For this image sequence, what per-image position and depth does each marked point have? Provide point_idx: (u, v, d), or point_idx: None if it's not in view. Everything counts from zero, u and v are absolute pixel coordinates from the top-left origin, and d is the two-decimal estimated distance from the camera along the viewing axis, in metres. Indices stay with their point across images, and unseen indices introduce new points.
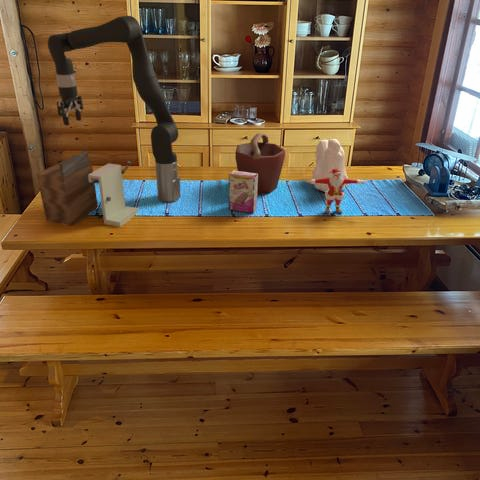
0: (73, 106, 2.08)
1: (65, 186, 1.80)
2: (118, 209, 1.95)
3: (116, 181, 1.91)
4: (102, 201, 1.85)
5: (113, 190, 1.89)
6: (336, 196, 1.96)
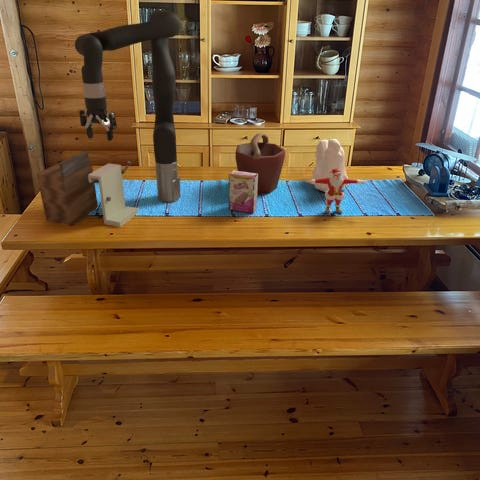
0: None
1: (65, 186, 1.80)
2: (118, 209, 1.95)
3: (116, 181, 1.91)
4: (102, 201, 1.85)
5: (113, 190, 1.89)
6: (336, 196, 1.96)
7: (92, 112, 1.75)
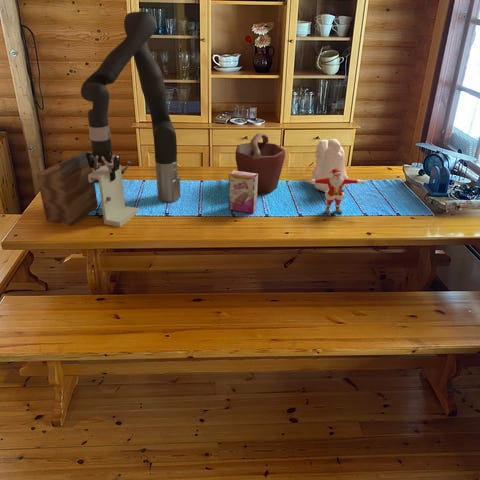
0: None
1: (65, 186, 1.80)
2: (118, 209, 1.95)
3: (116, 181, 1.91)
4: (102, 201, 1.85)
5: (113, 190, 1.89)
6: (336, 196, 1.96)
7: (98, 153, 1.82)
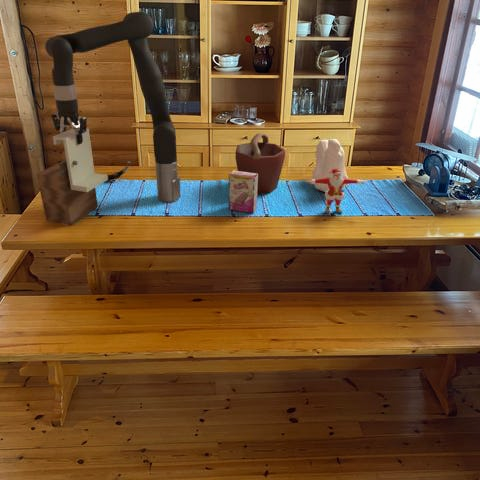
0: None
1: (65, 186, 1.80)
2: (86, 175, 1.88)
3: (84, 145, 1.83)
4: (68, 165, 1.77)
5: (80, 154, 1.82)
6: (336, 196, 1.96)
7: (63, 114, 1.75)
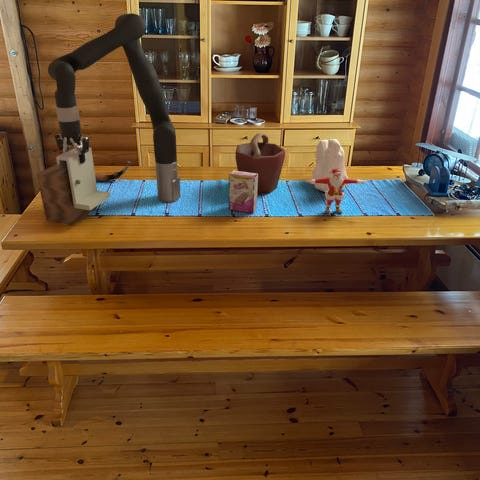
0: None
1: (65, 186, 1.80)
2: (89, 193, 1.92)
3: (87, 164, 1.87)
4: (71, 184, 1.81)
5: (83, 173, 1.86)
6: (336, 196, 1.96)
7: (66, 135, 1.79)
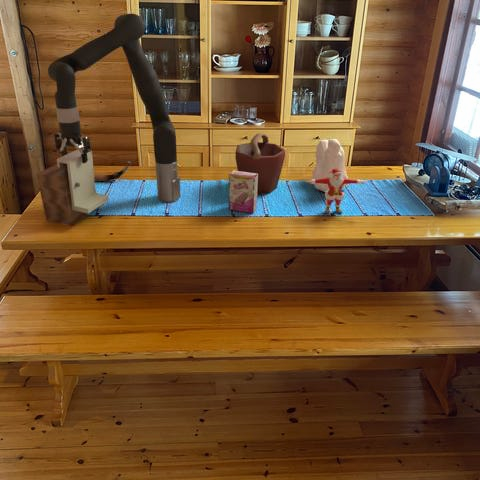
0: None
1: (65, 186, 1.80)
2: (88, 195, 1.92)
3: (87, 166, 1.87)
4: (70, 187, 1.82)
5: (83, 176, 1.86)
6: (336, 196, 1.96)
7: (66, 136, 1.79)
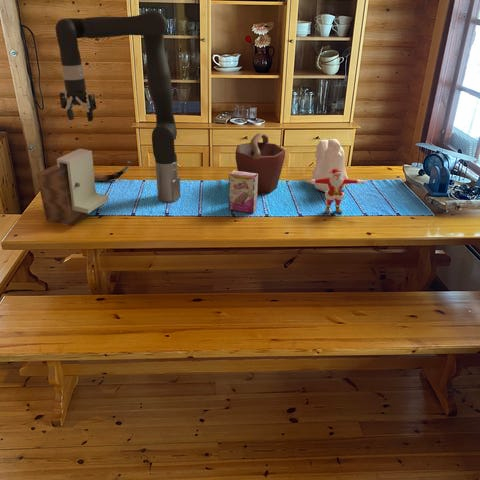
0: None
1: (65, 186, 1.80)
2: (88, 195, 1.92)
3: (87, 166, 1.87)
4: (70, 187, 1.82)
5: (83, 176, 1.86)
6: (336, 196, 1.96)
7: (72, 94, 1.82)
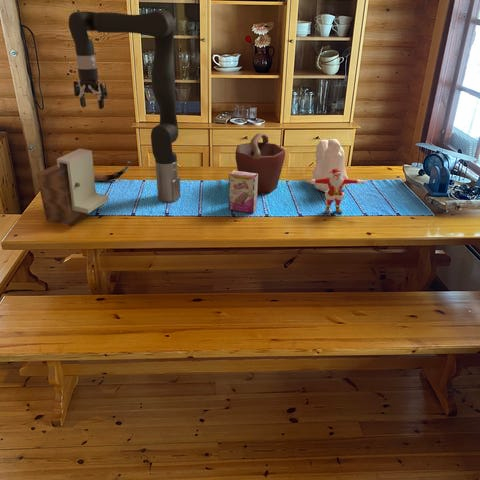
0: None
1: (65, 186, 1.80)
2: (88, 195, 1.92)
3: (87, 166, 1.87)
4: (70, 187, 1.82)
5: (83, 176, 1.86)
6: (336, 196, 1.96)
7: (85, 83, 1.94)
